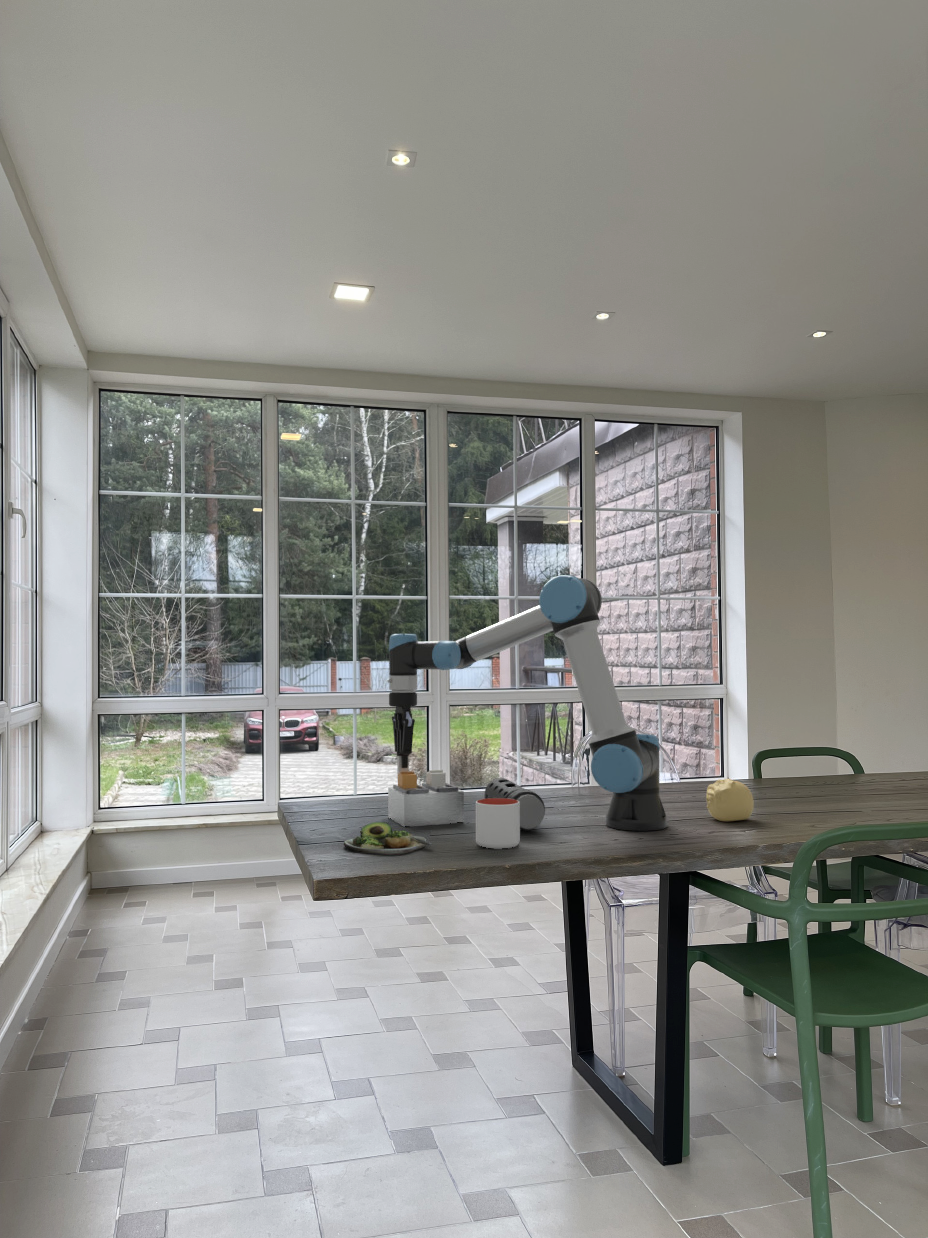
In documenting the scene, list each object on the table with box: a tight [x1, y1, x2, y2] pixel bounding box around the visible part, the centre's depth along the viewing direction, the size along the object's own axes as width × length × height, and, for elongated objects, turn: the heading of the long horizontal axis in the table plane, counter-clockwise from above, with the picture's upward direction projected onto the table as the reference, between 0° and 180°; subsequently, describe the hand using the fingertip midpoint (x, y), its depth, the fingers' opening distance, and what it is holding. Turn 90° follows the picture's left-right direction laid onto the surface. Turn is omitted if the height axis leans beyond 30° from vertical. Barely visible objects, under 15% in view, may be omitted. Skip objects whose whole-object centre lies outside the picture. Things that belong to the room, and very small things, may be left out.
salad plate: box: [343, 821, 433, 856], centre depth 208 cm, size 19×18×5 cm
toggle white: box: [425, 769, 447, 787], centre depth 246 cm, size 4×4×4 cm
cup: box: [475, 798, 521, 850], centre depth 210 cm, size 10×10×10 cm
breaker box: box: [387, 782, 465, 828], centre depth 241 cm, size 14×16×9 cm
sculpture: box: [705, 778, 755, 822], centre depth 241 cm, size 12×12×11 cm
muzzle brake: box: [484, 777, 546, 831], centre depth 235 cm, size 10×28×10 cm, turn 12°
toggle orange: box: [397, 770, 418, 789], centre depth 243 cm, size 4×4×4 cm
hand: (403, 780), depth 246 cm, fingers closed
